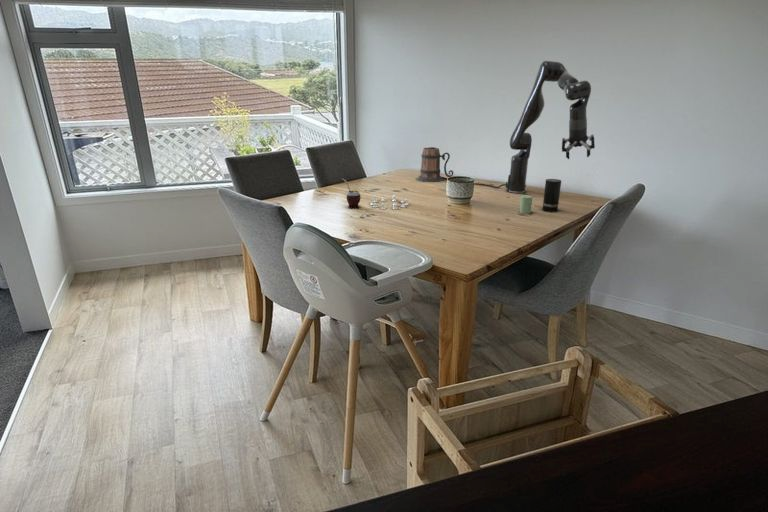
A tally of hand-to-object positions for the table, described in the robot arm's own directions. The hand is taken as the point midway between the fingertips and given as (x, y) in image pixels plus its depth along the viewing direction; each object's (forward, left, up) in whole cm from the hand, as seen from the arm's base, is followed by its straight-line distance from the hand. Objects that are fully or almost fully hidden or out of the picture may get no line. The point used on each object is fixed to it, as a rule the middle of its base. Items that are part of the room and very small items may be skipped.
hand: (578, 157), depth 227 cm
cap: (-16, -18, -26) cm, 36 cm away
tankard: (-94, +25, -26) cm, 101 cm away
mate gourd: (-89, -62, -26) cm, 112 cm away
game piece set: (-78, -46, -26) cm, 94 cm away
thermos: (-8, -6, -26) cm, 28 cm away
